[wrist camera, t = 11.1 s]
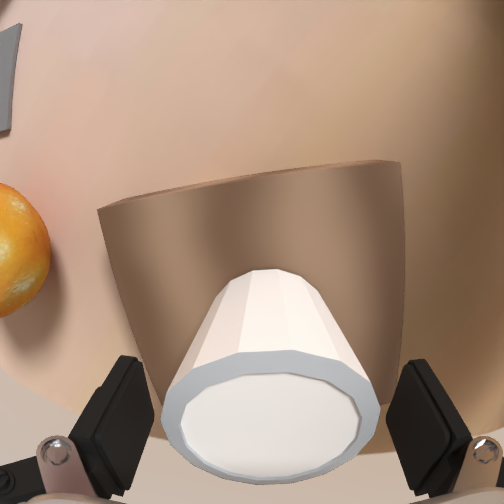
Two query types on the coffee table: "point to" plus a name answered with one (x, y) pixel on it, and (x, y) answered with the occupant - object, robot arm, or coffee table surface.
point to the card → (7, 72)
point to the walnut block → (265, 256)
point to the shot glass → (269, 386)
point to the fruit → (21, 251)
